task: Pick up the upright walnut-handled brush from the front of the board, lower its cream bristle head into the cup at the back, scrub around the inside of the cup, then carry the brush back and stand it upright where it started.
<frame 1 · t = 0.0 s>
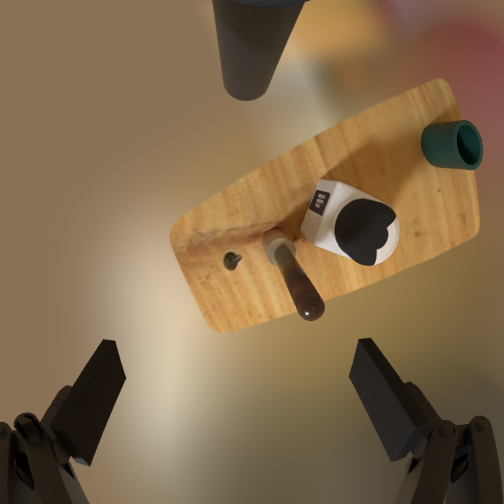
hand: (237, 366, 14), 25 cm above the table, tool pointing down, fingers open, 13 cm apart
container: (332, 214, 37), on the table
cup: (436, 145, 35), on the table
brush: (275, 242, 38), on the table
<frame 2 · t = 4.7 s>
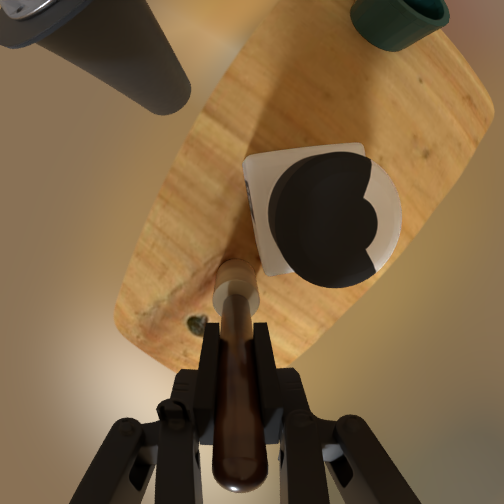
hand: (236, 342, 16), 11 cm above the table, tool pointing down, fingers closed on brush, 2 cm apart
container: (292, 196, 24), on the table
cup: (380, 24, 19), on the table
brush: (235, 277, 26), on the table, touching gripper
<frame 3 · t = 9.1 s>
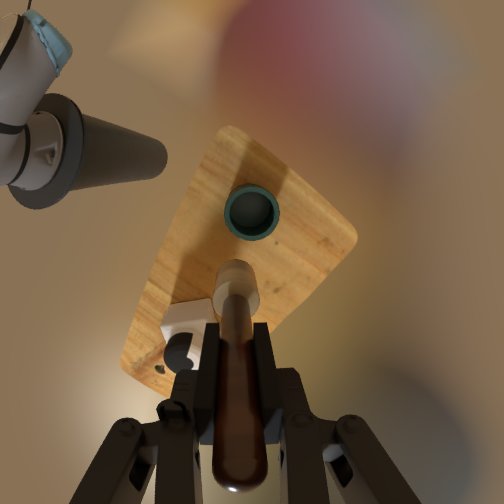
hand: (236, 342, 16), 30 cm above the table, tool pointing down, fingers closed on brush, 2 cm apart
container: (195, 318, 49), on the table
cup: (249, 206, 44), on the table
brush: (235, 277, 26), point 20 cm above the table, touching gripper
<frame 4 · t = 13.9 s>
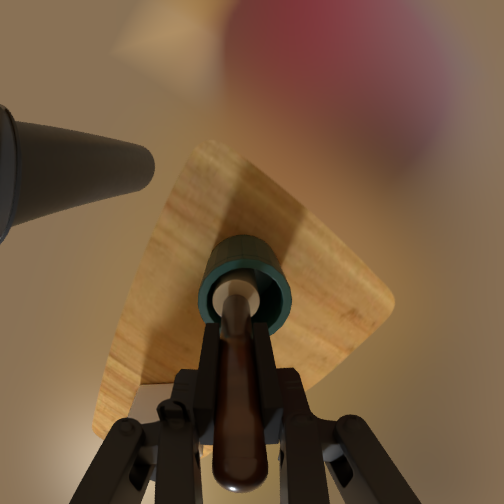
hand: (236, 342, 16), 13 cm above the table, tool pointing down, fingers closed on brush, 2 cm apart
container: (173, 400, 34), on the table
cup: (242, 269, 29), on the table
brush: (235, 277, 26), point 3 cm above the table, touching gripper
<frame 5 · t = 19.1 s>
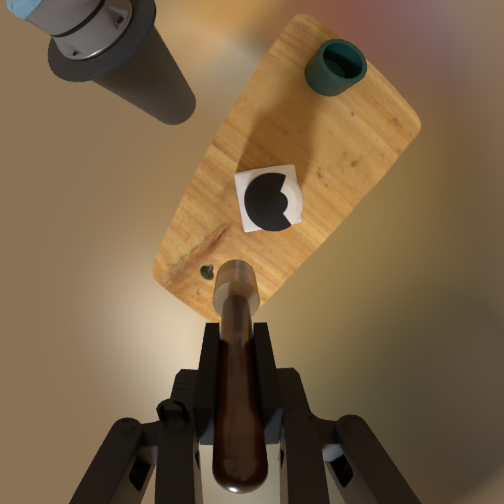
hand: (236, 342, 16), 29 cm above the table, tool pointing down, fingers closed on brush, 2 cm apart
container: (263, 193, 42), on the table
cup: (326, 76, 37), on the table
brush: (235, 277, 26), point 18 cm above the table, touching gripper
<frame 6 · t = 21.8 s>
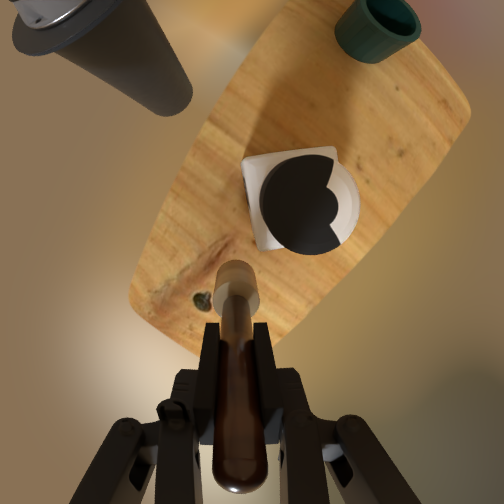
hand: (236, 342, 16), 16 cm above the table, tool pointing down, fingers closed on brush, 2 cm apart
container: (282, 190, 29), on the table
cup: (362, 39, 24), on the table
brush: (235, 278, 26), point 5 cm above the table, touching gripper
when the fingers open (10 cm above the table, at t = 23.2 s): brush stays where it is, on the table.
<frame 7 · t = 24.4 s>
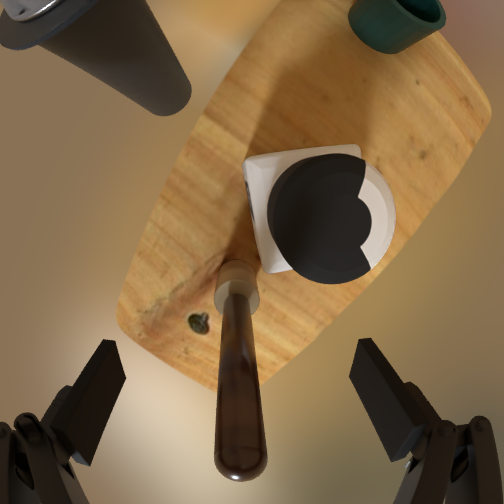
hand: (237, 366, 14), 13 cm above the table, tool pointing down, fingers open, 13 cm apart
container: (291, 197, 25), on the table
cup: (378, 27, 20), on the table
brush: (236, 277, 26), on the table
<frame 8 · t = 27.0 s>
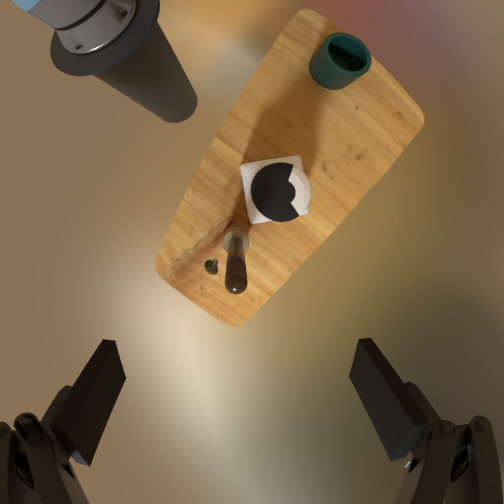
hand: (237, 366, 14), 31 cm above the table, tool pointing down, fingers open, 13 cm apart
container: (268, 186, 41), on the table
cup: (330, 70, 36), on the table
brush: (235, 235, 43), on the table
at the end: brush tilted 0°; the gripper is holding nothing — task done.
